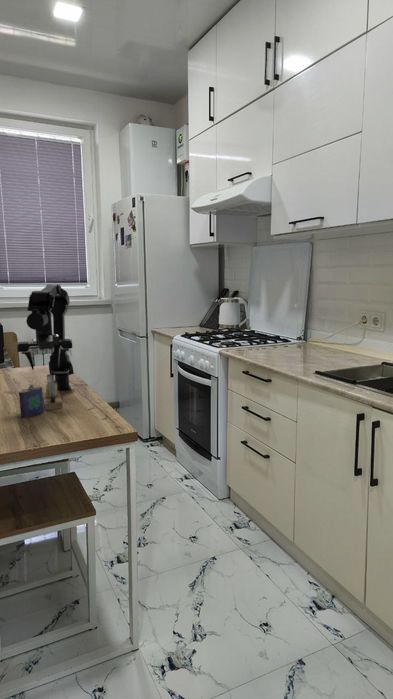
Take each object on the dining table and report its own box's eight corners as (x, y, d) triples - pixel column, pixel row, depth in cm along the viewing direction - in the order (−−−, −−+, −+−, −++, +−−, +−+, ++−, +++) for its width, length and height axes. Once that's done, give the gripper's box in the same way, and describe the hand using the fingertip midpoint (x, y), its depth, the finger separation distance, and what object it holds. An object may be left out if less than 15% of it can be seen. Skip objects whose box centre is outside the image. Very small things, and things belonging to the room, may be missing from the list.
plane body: (43, 396, 178) (42, 384, 177) (59, 395, 180) (58, 383, 179) (44, 409, 160) (43, 395, 159) (62, 407, 162) (61, 394, 161)
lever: (48, 392, 175) (46, 374, 174) (54, 391, 176) (53, 374, 175) (49, 402, 161) (48, 382, 160) (56, 401, 162) (55, 381, 161)
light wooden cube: (45, 393, 174) (45, 381, 173) (56, 393, 175) (56, 380, 174) (46, 397, 168) (45, 384, 168) (57, 396, 170) (57, 383, 169)
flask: (40, 410, 159) (38, 381, 157) (46, 412, 157) (44, 381, 156) (19, 418, 151) (16, 386, 149) (25, 419, 149) (23, 387, 148)
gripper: (15, 330, 152) (19, 375, 155) (73, 327, 159) (75, 370, 162) (15, 326, 162) (18, 369, 165) (69, 323, 169) (71, 364, 172)
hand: (46, 368), depth 166 cm, fingers open, 9 cm apart
